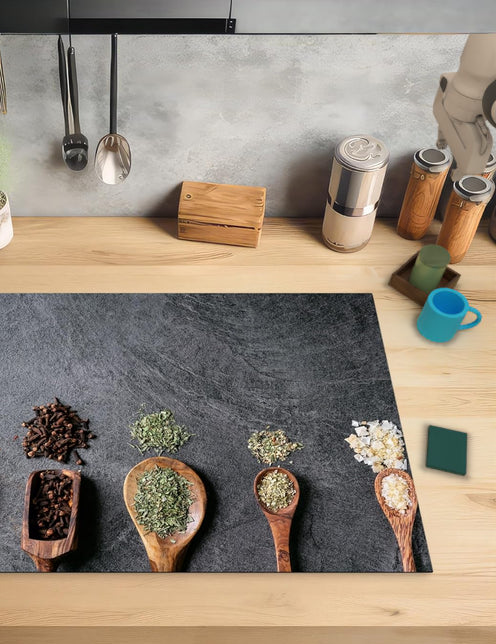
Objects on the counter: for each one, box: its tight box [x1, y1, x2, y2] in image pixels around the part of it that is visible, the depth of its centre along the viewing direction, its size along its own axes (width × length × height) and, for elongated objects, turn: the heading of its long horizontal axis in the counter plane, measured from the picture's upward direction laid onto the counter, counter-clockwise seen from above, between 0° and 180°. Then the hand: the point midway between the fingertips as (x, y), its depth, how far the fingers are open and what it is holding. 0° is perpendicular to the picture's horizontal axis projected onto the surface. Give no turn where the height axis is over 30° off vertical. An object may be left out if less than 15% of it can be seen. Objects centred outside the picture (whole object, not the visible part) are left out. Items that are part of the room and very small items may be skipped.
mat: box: [425, 424, 468, 477], centre depth 139 cm, size 9×7×1 cm
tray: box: [387, 249, 462, 308], centre depth 163 cm, size 11×11×4 cm
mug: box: [416, 288, 483, 343], centre depth 154 cm, size 12×8×8 cm
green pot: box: [408, 243, 452, 294], centre depth 160 cm, size 6×6×9 cm
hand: (447, 162), depth 142 cm, fingers open, 8 cm apart
